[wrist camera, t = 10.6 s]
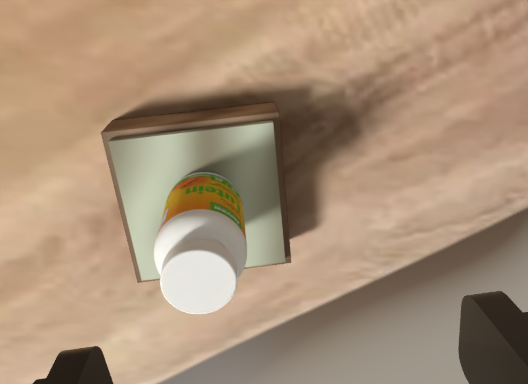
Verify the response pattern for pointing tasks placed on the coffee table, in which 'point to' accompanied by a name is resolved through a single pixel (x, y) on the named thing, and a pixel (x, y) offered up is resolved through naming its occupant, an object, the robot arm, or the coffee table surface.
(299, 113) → the coffee table surface
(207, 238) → the supplement bottle
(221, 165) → the plinth
